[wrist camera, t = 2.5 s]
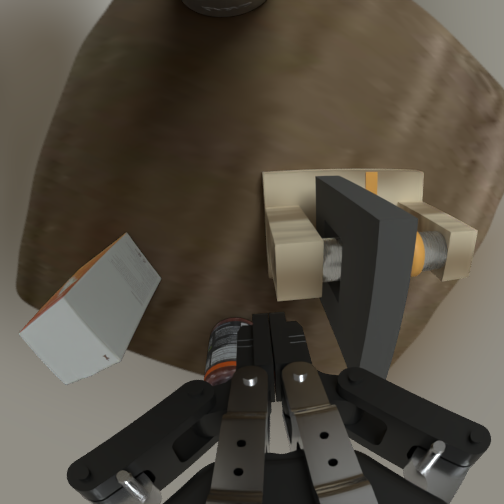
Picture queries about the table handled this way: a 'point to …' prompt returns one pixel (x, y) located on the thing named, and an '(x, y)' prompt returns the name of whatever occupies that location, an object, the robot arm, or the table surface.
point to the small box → (93, 313)
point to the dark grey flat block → (365, 270)
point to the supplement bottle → (223, 351)
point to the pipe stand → (330, 249)
